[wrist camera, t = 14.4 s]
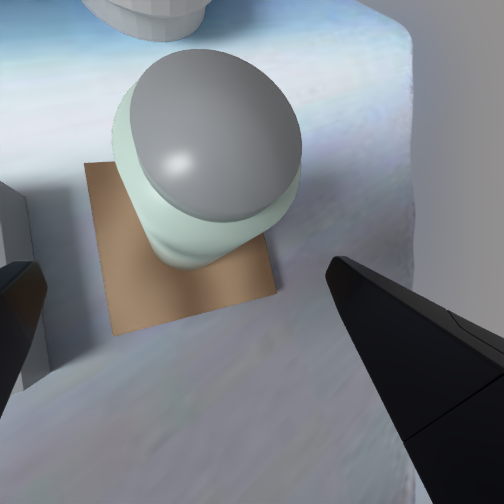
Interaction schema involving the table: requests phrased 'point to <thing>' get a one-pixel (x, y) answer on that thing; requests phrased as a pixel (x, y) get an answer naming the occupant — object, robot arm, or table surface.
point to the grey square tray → (20, 248)
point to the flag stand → (151, 17)
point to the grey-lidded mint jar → (206, 155)
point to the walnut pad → (163, 265)
